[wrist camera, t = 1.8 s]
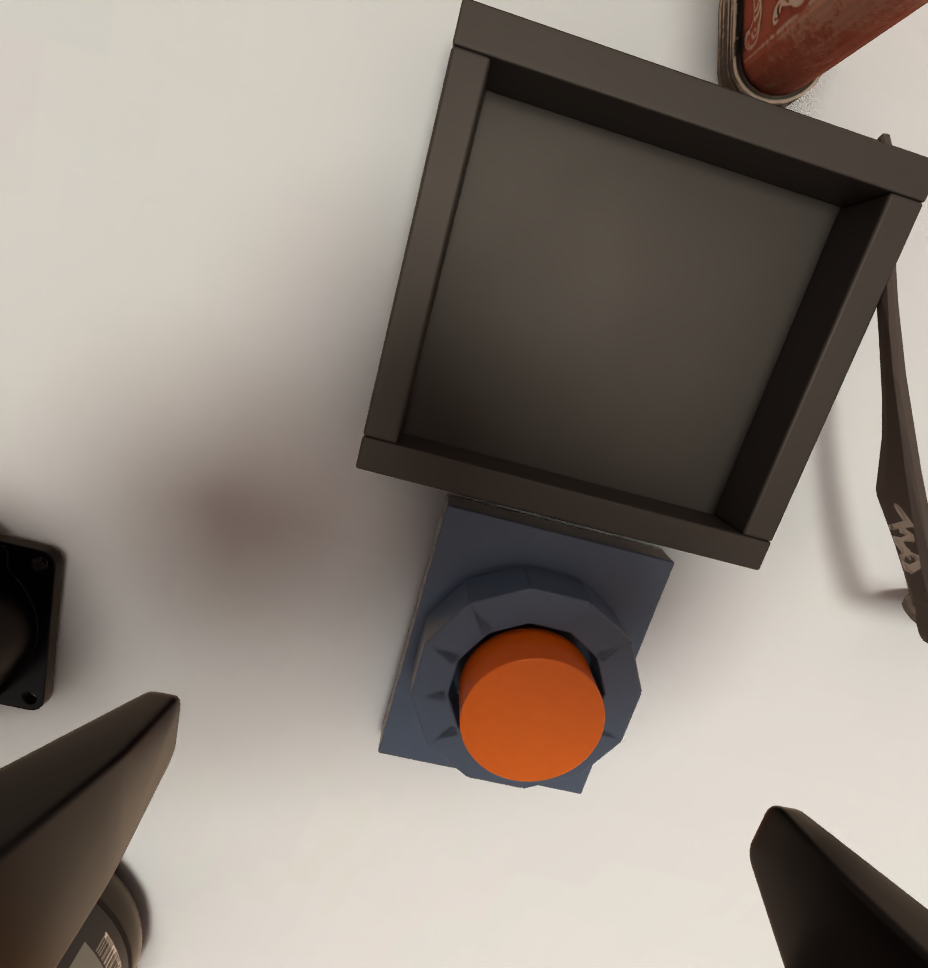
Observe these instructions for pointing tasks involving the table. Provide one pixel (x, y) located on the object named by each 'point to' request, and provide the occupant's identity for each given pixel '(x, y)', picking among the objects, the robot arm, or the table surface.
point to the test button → (529, 705)
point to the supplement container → (108, 932)
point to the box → (520, 623)
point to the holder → (628, 291)
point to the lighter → (796, 41)
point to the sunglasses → (901, 460)
